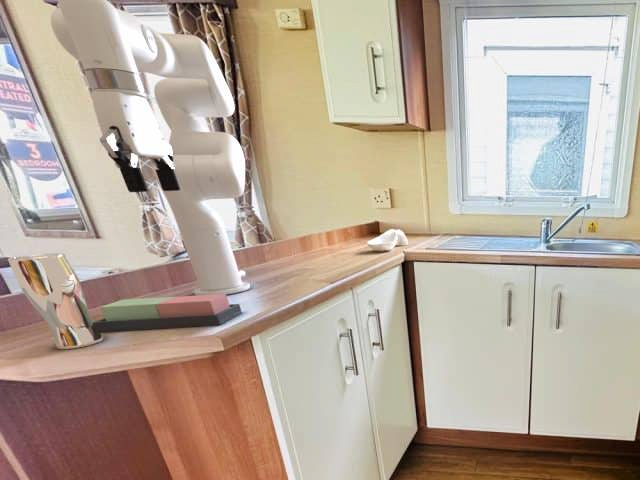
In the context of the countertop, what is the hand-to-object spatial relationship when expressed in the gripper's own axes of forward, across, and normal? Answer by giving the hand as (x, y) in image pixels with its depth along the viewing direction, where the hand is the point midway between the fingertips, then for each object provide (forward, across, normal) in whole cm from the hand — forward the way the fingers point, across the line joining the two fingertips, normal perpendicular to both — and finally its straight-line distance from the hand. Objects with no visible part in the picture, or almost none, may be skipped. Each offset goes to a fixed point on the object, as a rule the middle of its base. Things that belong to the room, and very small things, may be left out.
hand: (156, 191), depth 83 cm
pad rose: (+23, +9, +5) cm, 26 cm away
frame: (+24, +9, 0) cm, 26 cm away
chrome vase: (+24, +20, -9) cm, 33 cm away
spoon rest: (+25, -93, +26) cm, 100 cm away
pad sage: (+24, +9, -5) cm, 26 cm away
